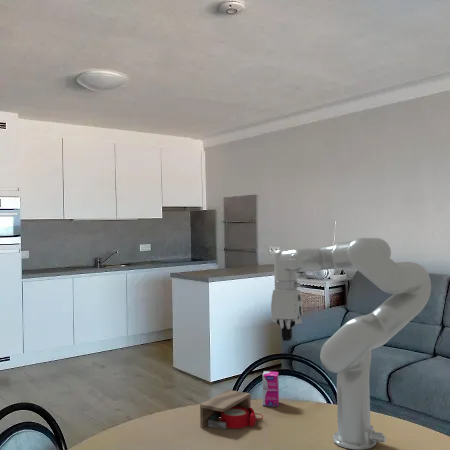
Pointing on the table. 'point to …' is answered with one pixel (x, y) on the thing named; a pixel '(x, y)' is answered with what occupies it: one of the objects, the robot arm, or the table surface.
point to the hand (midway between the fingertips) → (286, 340)
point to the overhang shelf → (222, 407)
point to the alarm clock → (238, 417)
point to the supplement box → (270, 388)
